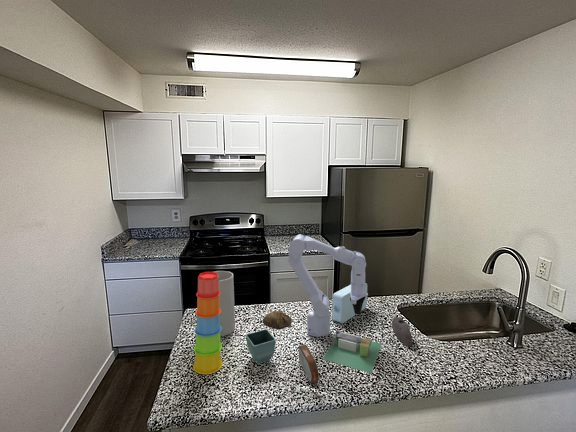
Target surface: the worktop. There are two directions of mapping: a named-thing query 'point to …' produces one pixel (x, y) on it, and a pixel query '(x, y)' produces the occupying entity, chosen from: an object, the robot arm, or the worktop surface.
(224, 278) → the cylinder vase
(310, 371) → the tin
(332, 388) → the worktop surface
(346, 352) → the green board with slider
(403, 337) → the perforated stone tool
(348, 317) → the light blue box
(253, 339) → the flower pot
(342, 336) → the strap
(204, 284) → the stacking cups
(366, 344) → the block
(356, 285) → the robot arm
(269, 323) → the bread roll
